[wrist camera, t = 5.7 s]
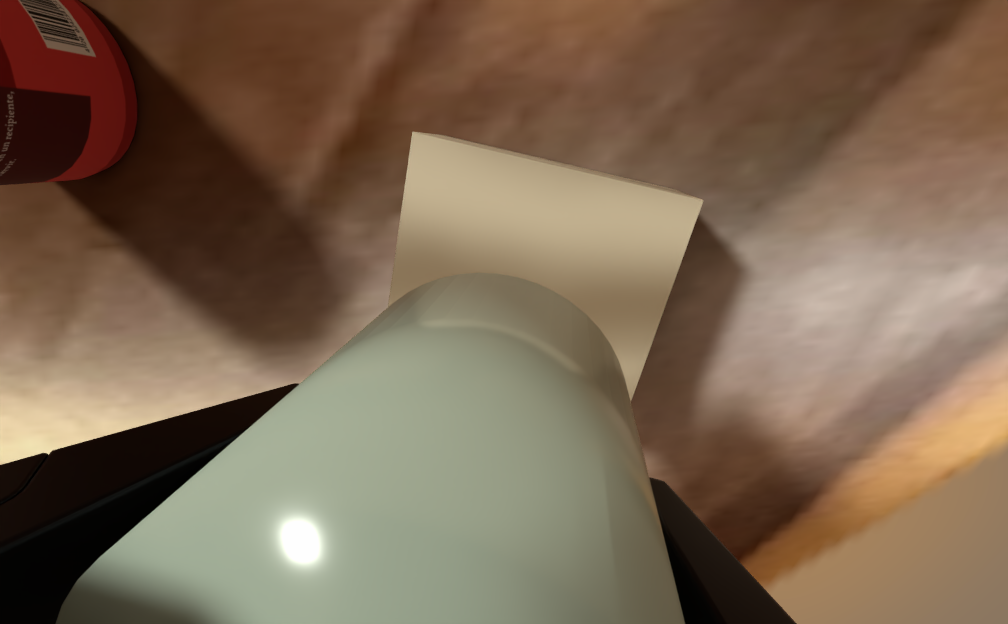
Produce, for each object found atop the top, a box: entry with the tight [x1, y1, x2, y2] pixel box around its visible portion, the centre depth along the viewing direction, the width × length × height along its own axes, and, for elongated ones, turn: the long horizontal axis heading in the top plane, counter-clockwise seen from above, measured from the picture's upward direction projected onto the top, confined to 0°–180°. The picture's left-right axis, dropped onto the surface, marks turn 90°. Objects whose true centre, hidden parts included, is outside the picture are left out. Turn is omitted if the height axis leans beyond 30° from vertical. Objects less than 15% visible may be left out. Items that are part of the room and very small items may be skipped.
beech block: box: [388, 132, 703, 401], centre depth 18 cm, size 9×9×4 cm
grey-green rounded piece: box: [56, 273, 685, 624], centre depth 7 cm, size 6×6×6 cm
